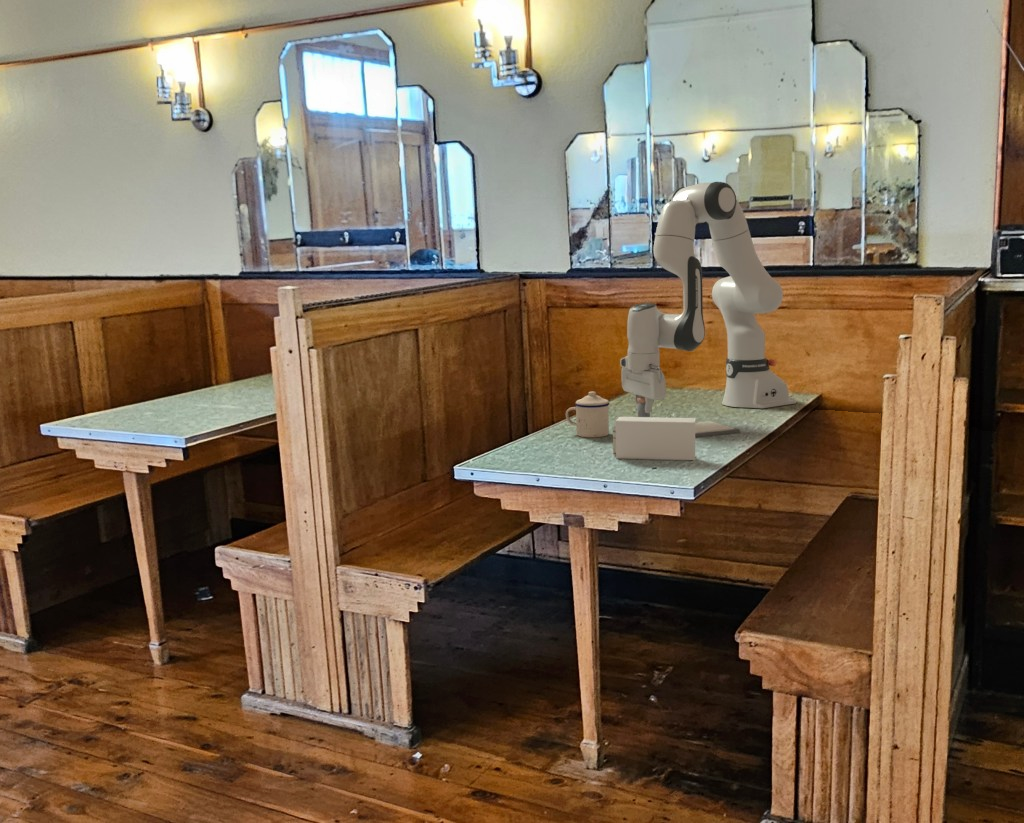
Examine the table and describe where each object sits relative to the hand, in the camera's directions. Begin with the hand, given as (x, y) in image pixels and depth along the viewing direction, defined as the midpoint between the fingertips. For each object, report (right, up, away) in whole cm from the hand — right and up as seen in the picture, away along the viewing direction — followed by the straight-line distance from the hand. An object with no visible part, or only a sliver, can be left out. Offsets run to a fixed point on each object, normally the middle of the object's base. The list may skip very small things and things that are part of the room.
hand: (643, 411), depth 294 cm
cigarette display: (-3, -11, -42) cm, 43 cm away
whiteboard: (+9, -6, -13) cm, 17 cm away
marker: (0, -4, +1) cm, 4 cm away
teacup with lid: (-17, -6, -12) cm, 21 cm away
